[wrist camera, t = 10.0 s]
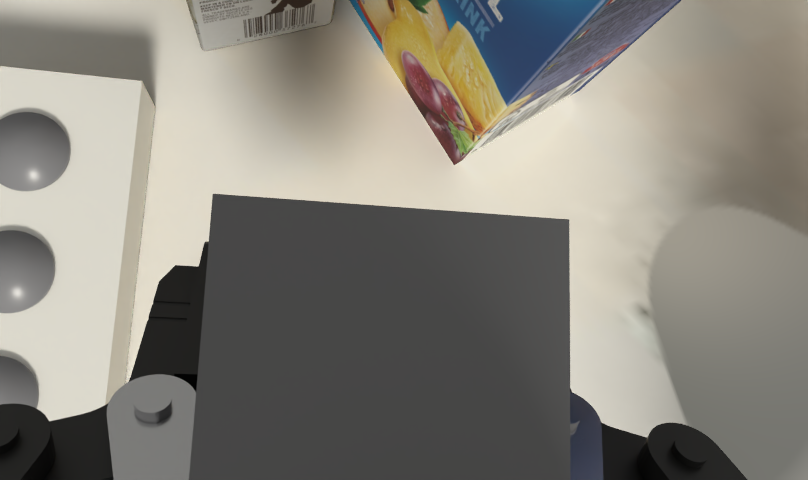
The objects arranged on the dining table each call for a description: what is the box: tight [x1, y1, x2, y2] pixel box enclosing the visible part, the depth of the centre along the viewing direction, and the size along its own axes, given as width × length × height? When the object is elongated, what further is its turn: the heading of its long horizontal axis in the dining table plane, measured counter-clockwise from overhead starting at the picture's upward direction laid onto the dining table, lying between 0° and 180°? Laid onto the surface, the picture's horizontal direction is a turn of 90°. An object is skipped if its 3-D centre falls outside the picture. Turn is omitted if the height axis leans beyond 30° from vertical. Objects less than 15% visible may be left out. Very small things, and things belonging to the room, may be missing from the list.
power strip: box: [0, 66, 155, 421], centre depth 26 cm, size 8×18×4 cm, turn 177°
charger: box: [189, 194, 571, 480], centre depth 14 cm, size 4×7×11 cm
